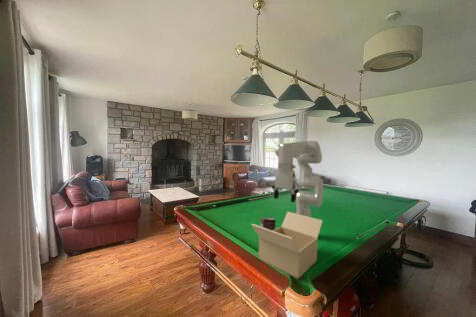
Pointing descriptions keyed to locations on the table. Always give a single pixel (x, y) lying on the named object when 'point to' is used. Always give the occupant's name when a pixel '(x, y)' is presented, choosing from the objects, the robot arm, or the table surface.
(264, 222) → the supplement box
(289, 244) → the front flap
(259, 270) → the table surface
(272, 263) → the carton
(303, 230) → the rear flap
